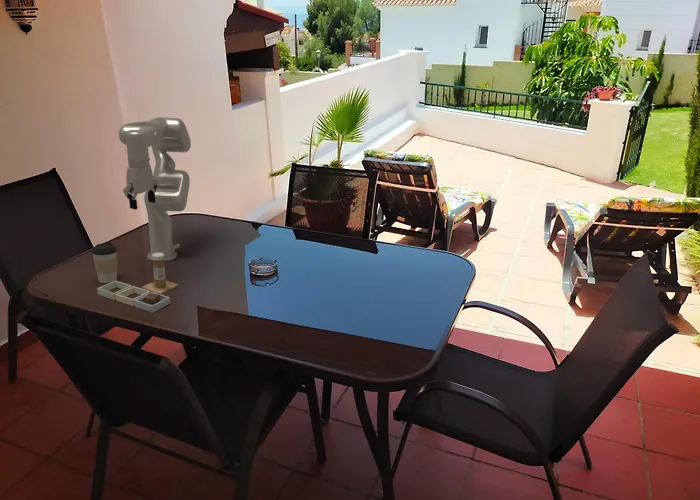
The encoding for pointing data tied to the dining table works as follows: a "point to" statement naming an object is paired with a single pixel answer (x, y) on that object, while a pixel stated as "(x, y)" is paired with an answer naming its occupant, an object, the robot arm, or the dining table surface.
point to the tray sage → (105, 289)
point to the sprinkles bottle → (159, 270)
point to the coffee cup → (105, 262)
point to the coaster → (160, 290)
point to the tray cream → (123, 295)
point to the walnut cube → (152, 298)
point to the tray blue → (152, 308)
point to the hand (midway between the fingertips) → (143, 205)
